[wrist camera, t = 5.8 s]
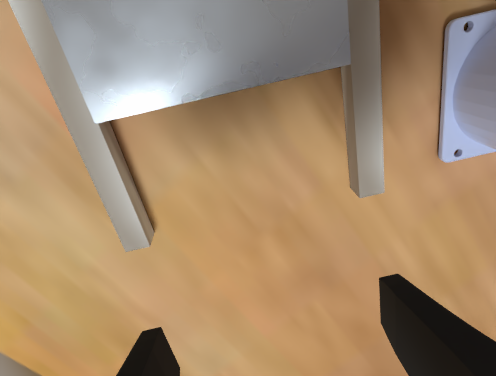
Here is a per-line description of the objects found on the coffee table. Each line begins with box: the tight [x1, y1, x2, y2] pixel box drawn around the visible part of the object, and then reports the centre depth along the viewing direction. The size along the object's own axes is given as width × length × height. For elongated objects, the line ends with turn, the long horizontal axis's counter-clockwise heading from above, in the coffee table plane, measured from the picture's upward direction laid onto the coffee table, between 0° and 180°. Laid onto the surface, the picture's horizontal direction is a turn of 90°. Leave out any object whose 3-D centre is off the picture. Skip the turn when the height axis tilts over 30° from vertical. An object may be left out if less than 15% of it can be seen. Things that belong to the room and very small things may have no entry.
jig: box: [8, 0, 384, 252], centre depth 17 cm, size 16×14×2 cm
